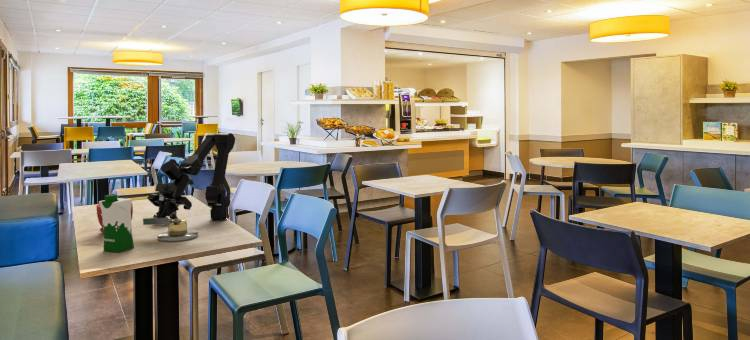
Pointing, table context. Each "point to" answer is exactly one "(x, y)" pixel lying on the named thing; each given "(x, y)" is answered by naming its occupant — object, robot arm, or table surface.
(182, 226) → the lever valve handle
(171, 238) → the spindle flange
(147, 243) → the table surface
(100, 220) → the plant pot
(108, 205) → the milk carton
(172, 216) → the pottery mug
